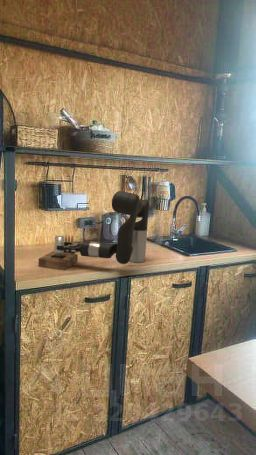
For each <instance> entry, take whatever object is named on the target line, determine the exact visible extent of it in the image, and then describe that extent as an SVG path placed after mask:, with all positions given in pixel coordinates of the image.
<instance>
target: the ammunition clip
mask: <svg viewBox="0 0 256 455" xmlns="http://www.w3.org/2000/svg"><path fill="white" fill-rule="evenodd" d="M58 236H61V235H58ZM64 242H74V235H73V234H71V235H70V234H69V235H68V236H67V235H65V236H64ZM53 245H54V248H53V251H54V250H55V243H54V244H53ZM66 250H68V249H66ZM71 254H74V253H71Z"/></svg>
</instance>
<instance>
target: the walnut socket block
mask: <svg viewBox="0 0 256 455" xmlns="http://www.w3.org/2000/svg"><path fill="white" fill-rule="evenodd" d="M78 257H79V255H78V253H75V254H71V253H64V258H63V259H60V258H54V250H52V251H51V252H48V253H45V255H43V256H41V257H39V258H38V267H39V268H45V269H52V270H53V269H54V270H62V271H67V270H68V269H69V268H71V267H72V266H74V265H75V264H77V263H78Z"/></svg>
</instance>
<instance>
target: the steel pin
mask: <svg viewBox="0 0 256 455" xmlns="http://www.w3.org/2000/svg"><path fill="white" fill-rule="evenodd" d="M64 242H65V236H64V235H60V236H59V235H55V236H54V244H55V250H54V249H53V251H54V258H60V259H63V258H64V251H61V250H57V246H58V245H60V246H64Z"/></svg>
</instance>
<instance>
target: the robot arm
mask: <svg viewBox="0 0 256 455" xmlns="http://www.w3.org/2000/svg"><path fill="white" fill-rule="evenodd" d="M111 207H112V210H113V211H114V212H115V213H118V214H123V215H127V216H129V217H128V219H127V220H125V222H123V223H122V224H121V225H120V226H119V228H118V230H117V238H116V239H117V241H116V242H114V243H103V242H102V243H101V242H97V241H90V240H89V241H88V240H82V241H73V242H71V241H70V242H68V241H67V242H65V241H64V246H60V245H58V246H57V250H61V251H64V253H74V254H77V253H79V255H80V256H82V257H86V258H87V257H88V258H99V259H100V258H101V259H111V258H112V257H113V255H115V260H116V261H117V263H119V264H121V265H125V264H128V263H129V262H131V263H144V262H145V261H146V253H147V241H148V240H147V238H148V236H147V235H148V221H149V213H150V202H149V200H148V199H140V196H139V195H138V194H136V193H132V192H128V191H123V190H118V191H117V192H115V193H114V195H113V196H112V199H111ZM138 217H139V218H141V219H139V220H138V221H137V218H138ZM66 249H68V250H66Z"/></svg>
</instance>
